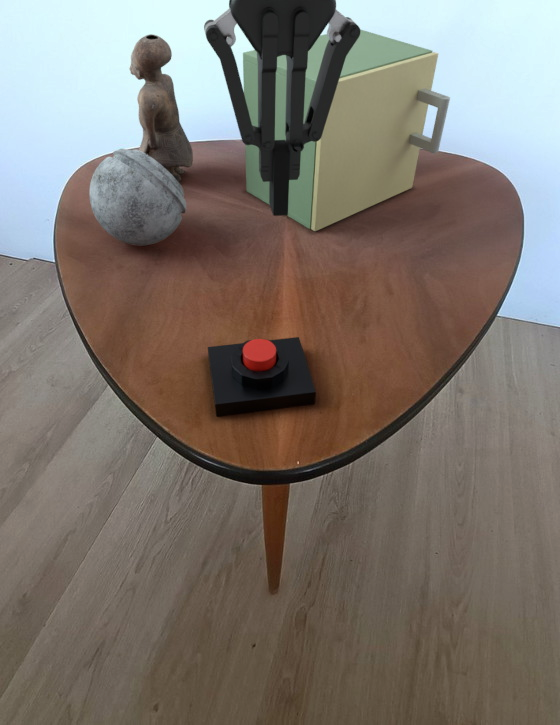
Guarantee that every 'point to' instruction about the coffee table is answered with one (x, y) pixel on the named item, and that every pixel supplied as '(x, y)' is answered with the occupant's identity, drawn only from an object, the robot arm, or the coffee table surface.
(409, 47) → the cupboard
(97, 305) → the coffee table surface
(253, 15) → the robot arm
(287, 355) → the button block
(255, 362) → the button
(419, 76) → the door
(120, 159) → the decorative orb
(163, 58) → the clay figurine
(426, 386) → the coffee table surface
